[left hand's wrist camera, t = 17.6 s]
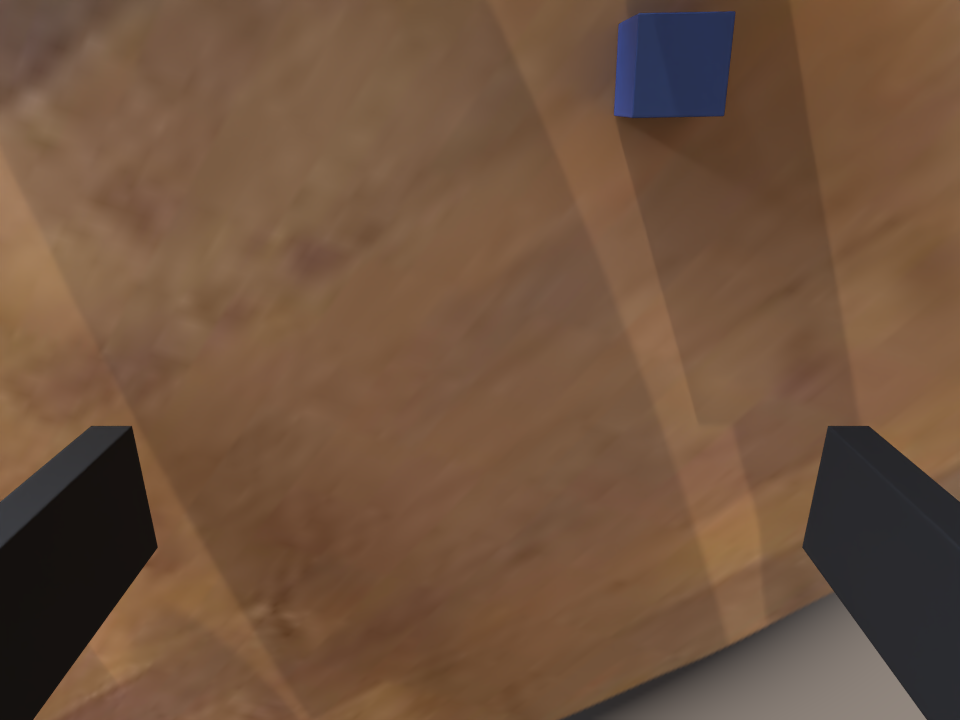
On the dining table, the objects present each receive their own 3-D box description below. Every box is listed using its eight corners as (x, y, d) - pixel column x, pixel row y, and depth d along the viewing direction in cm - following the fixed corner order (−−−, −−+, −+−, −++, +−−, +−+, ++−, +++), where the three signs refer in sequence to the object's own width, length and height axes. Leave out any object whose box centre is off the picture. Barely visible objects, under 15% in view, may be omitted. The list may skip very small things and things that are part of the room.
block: (613, 115, 33) (632, 117, 29) (618, 23, 31) (638, 12, 28) (695, 114, 33) (724, 116, 29) (704, 21, 31) (736, 10, 28)
